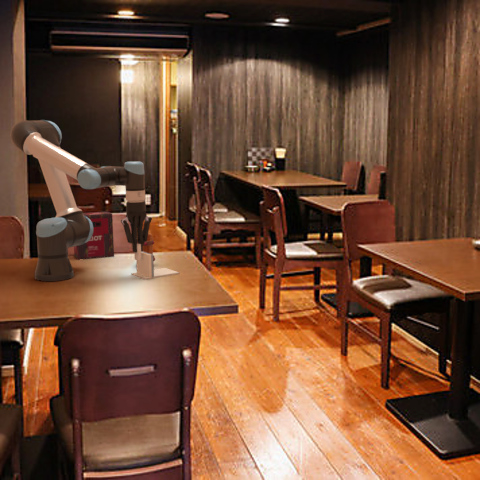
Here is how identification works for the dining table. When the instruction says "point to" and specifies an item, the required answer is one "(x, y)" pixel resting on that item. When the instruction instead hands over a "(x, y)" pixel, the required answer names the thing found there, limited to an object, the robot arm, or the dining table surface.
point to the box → (98, 238)
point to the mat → (157, 273)
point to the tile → (146, 265)
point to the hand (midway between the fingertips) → (138, 259)
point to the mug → (148, 245)
